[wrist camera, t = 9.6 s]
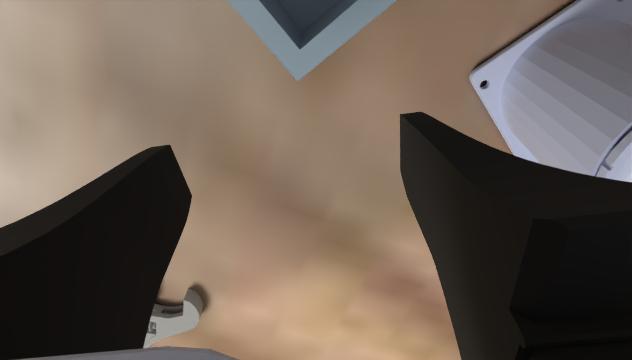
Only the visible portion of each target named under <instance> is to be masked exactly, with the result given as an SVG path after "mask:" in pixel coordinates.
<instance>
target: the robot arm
mask: <svg viewBox="0 0 632 360" xmlns="http://www.w3.org/2000/svg"><path fill="white" fill-rule="evenodd" d="M469 79H470V82H471V84H472V85H473V87H474V89H475V90H476V92H477V94H478V95H479V97H480V99H481V101H482V102H483V104H484V106H485V107H486V109H487V111H488V112H489V114H490V116H491V118H492V119H493V121H494V123H495V124H496V126H497V128H498V129H499V131H500V133H501V134H502V136H503V138H504V140H505V141H506V143H507V145H508V146H509V148H510V150H511V151H512V153H513V155H512V154H509V153H506V152H503V151H500V150H498V149H495V148H493V147H490V146H488V145H486V144H484V143H481V142H479V141H477V140H475V139H473V138H471V137H468V136H466V135H464V134H462V133H461V132H459V131H457V130H455V129H453V128H451V127H449V126H447V125H446V124H444V123H442V122H440V121H438V120H436V119H435V118H433V117H431V116H429V115H427V114H425V113H423V112H415V113H407V114H400V170H401V175H402V179H403V183H404V187H405V190H406V194H407V197H408V200H409V202H410V205H411V207H412V209H413V212H414V214H415V217H416V219H417V221H418V224H419V226H420V228H421V231H422V233H423V235H424V238H425V240H426V242H427V245H428V247H429V249H430V252H431V254H432V257H433V260H434V263H435V265H436V269H437V272H438V275H439V279H440V282H441V286H442V289H443V292H444V296H445V299H446V303H447V307H448V310H449V314H450V317H451V321H452V325H453V328H454V332H455V336H456V340H457V344H458V347H459V351H460V355H461V359H462V360H632V0H576V1H575V2H573V3H572V4H570V5H569V6H567V7H566V8H564V9H563V10H562V11H560V12H559V13H557V14H556V15H554V16H553V17H551V18H550V19H548V20H547V21H545V22H544V23H542V24H541V25H539V26H538V27H536V28H535V29H533V30H532V31H530V32H529V33H527V34H526V35H524V36H523V37H521V38H520V39H518V40H517V41H515V42H514V43H512V44H511V45H510V46H508V47H507V48H505V49H504V50H502V51H501V52H499V53H498V54H496V55H495V56H493V57H492V58H490V59H489V60H487V61H486V62H484V63H483V64H481V65H480V66H478V67H477V68H475V69H474V70H473V71H472V72H471V74H470V77H469ZM485 80H487V83H486V85H485V86H483V87H480V84H481V82H482V81H485ZM191 199H192V195H191V192H190V190H189V188H188V185H187V183H186V181H185V178H184V176H183V174H182V171H181V169H180V167H179V164H178V162H177V160H176V157H175V155H174V153H173V150H172V148H171V146H170V145H164V146H156V147H151V148H148V149H146V150H144V151H142V152H140V153H138V154H136V155H134V156H133V157H131V158H129V159H128V160H126V161H124V162H123V163H121V164H119V165H118V166H116V167H115V168H113V169H111V170H110V171H108V172H106V173H105V174H103V175H102V176H100V177H98V178H97V179H95V180H93V181H92V182H90V183H88V184H86V185H85V186H83V187H81V188H80V189H78V190H76V191H74V192H73V193H71V194H69V195H68V196H66V197H64V198H62V199H60V200H59V201H57V202H55V203H53V204H51V205H49V206H47V207H45V208H43V209H41V210H39V211H37V212H35V213H33V214H31V215H29V216H27V217H25V218H23V219H20V220H18V221H16V222H14V223H11V224H9V225H6V226H4V227H2V228H0V360H239V359H236V358H234V357H231V356H228V355H225V354H222V353H220V352H217V351H214V350H211V349H203V348H186V347H170V346H166V347H154V348H143V347H144V342H145V338H146V334H147V330H148V326H149V322H150V319H151V315H152V311H153V308H154V304H155V301H156V297H157V294H158V291H159V288H160V285H161V283H162V280H163V277H164V275H165V273H166V270H167V268H168V265H169V263H170V261H171V258H172V256H173V253H174V251H175V249H176V246H177V244H178V241H179V239H180V236H181V234H182V231H183V229H184V226H185V224H186V221H187V217H188V213H189V208H190V204H191Z"/></svg>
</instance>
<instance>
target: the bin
mask: <svg viewBox="0 0 632 360" xmlns="http://www.w3.org/2000/svg"><path fill="white" fill-rule="evenodd" d="M227 1H228V2H229V3H230V4H231V5H232V6H233V7H234V9H235V10H236V11H237V12H238V13H239V14H240V16H241V17H242V18H243V19H244V20H245V21H246V22H247V24H248V25H249V26H250V27H251V28H252V29H253V31H254V32H255V33H256V34H257V35H258V36H259V37H260V39H261V40H262V41H263V42H264V43H265V44H266V46H267V47H268V48H269V49H270V50H271V51H272V52H273V54H274V55H275V56H276V57H277V58H278V59H279V61H280V62H281V63H282V64H283V65H284V66H285V67H286V69H287V70H288V71H289V72H290V73H291V74H292V76H293V77H294V78H295V79H296V80H297V81H299V80H300V79H301V78H303V77H304V76H305V75H306V74H307V73H309V72H310V71H311V70H312V69H313V68H315V67H316V66H317V65H318V64H320V63H321V62H322V61H323V60H324V59H326V58H327V57H328V56H329V55H331V54H332V53H333V52H334V51H335V50H337V49H338V48H339V47H340V46H342V45H343V44H344V43H345V42H346V41H348V40H349V39H350V38H351V37H353V36H354V35H355V34H356V33H357V32H359V31H360V30H361V29H362V28H363V27H365V26H366V25H367V24H368V23H370V22H371V21H372V20H373V19H374V18H376V17H377V16H378V15H379V14H381V13H382V12H383V11H384V10H385V9H387V8H388V7H389V6H390V5H392V4H393V3H394V2H395V1H396V0H227Z"/></svg>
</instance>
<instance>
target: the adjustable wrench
mask: <svg viewBox="0 0 632 360" xmlns="http://www.w3.org/2000/svg"><path fill="white" fill-rule="evenodd" d="M202 309H203V302H202V300H201V297H200V296H199V295H198V294H197V293H196V292H195V291H194V290H192V289H189V288H188V290H187V293H186V295H185V298H184V305H180V306H175V307H170V306H164V305H158V304H154V308H153V311H152V315H151V319H150V322H149V326H148V330H147V334H146V338H145V342H144V347H143V348H148V347H149V346H150V345H152V344H153V343H155V342H157V341H159V340H161V339H164V338H166V337H169V336H172V335H175V334H178V333H182V332H185V331H189V330H191V329H193V328H194V327H195V326H196V325H197V324H198V322H199V319H200V316H201V313H202Z"/></svg>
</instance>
